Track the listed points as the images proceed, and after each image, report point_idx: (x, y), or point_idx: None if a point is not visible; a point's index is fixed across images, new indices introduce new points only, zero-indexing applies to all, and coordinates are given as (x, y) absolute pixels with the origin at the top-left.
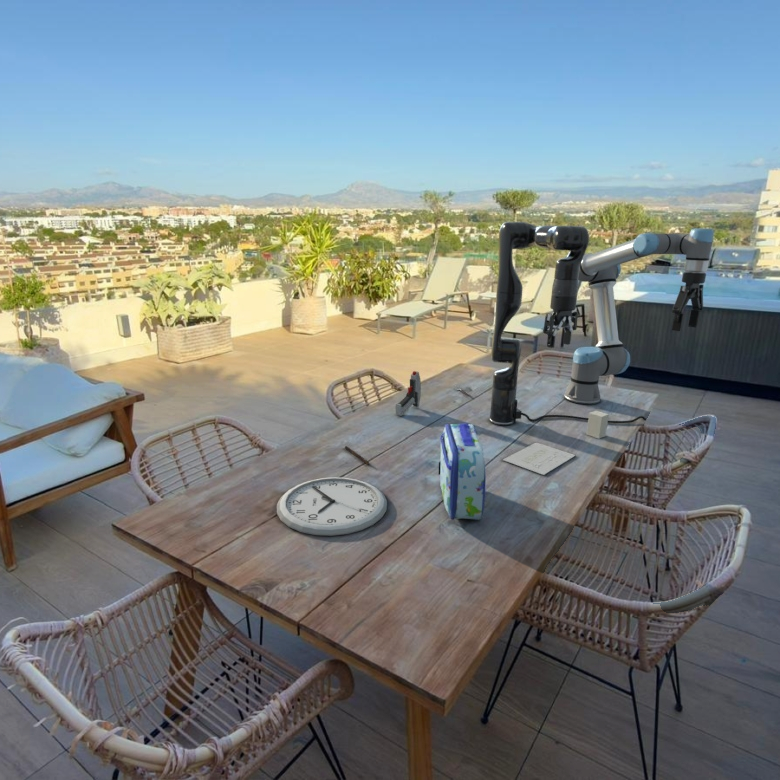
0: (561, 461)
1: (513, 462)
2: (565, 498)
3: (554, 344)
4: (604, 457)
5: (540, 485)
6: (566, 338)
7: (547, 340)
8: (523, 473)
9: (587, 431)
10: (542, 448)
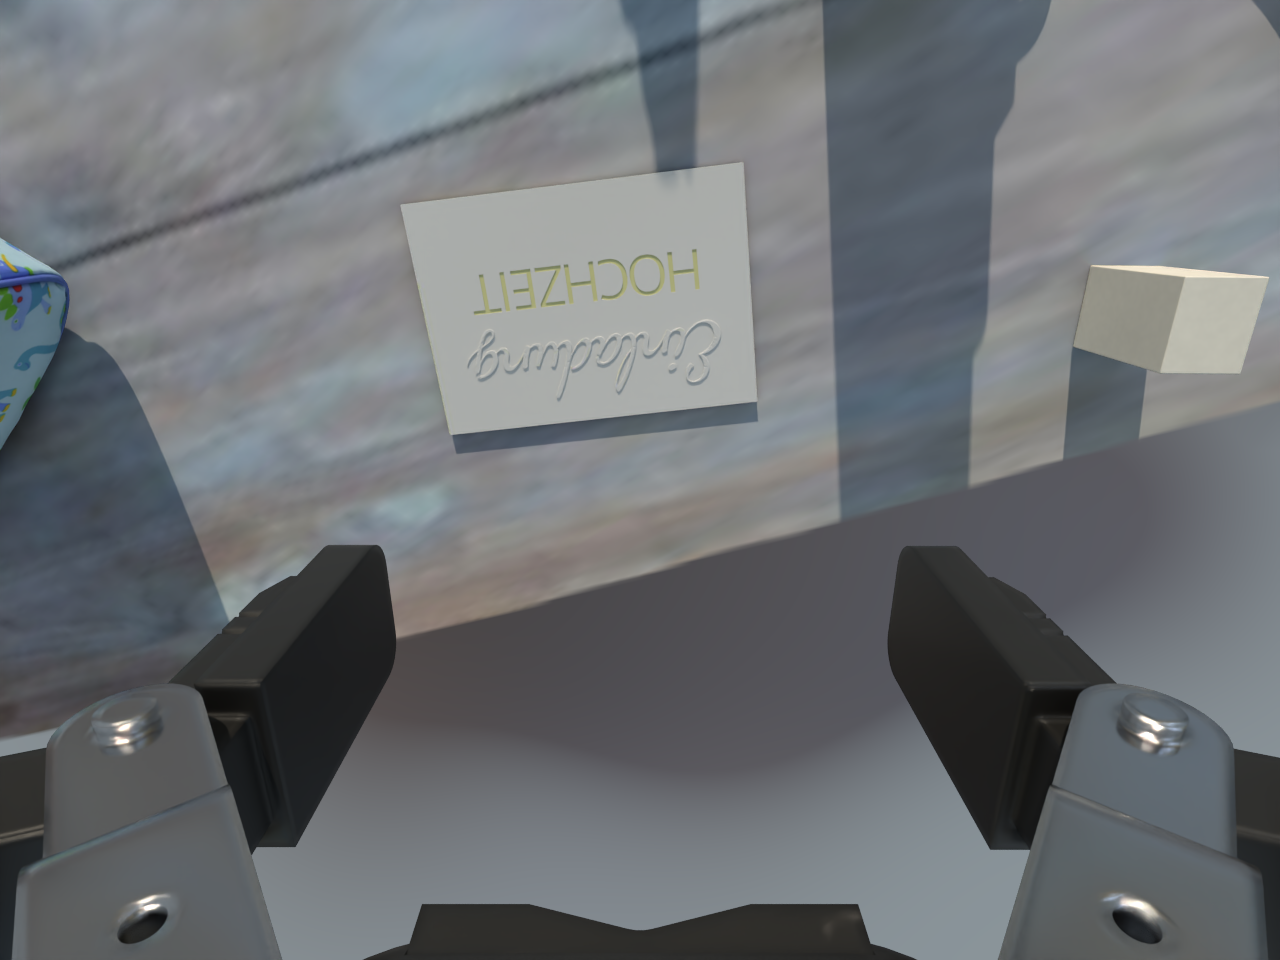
0: (635, 402)
1: (424, 265)
2: None
3: (376, 698)
4: (852, 487)
5: (371, 476)
6: (943, 669)
7: (214, 641)
8: (391, 364)
9: (1100, 272)
10: (696, 244)
